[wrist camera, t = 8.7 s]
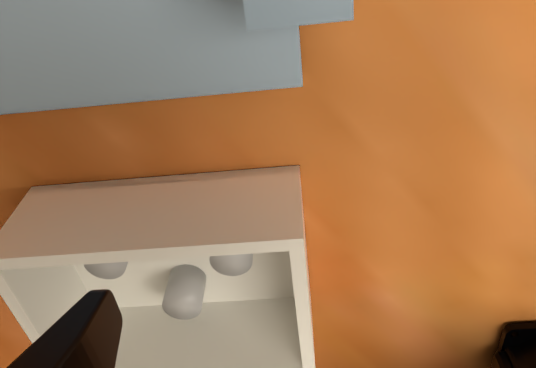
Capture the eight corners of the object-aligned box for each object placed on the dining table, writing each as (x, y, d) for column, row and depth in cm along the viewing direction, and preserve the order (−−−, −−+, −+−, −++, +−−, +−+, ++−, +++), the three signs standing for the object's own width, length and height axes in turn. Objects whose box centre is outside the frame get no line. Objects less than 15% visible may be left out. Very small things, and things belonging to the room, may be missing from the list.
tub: (92, 307, 28) (60, 386, 24) (31, 186, 23) (-23, 260, 19) (310, 295, 27) (315, 375, 23) (299, 165, 22) (303, 238, 18)
